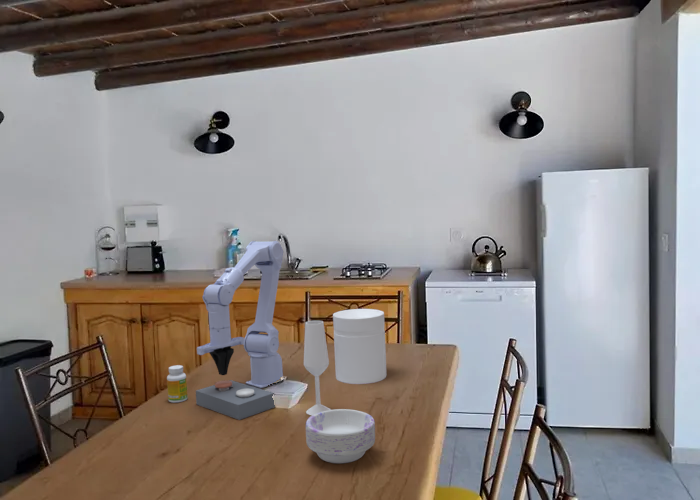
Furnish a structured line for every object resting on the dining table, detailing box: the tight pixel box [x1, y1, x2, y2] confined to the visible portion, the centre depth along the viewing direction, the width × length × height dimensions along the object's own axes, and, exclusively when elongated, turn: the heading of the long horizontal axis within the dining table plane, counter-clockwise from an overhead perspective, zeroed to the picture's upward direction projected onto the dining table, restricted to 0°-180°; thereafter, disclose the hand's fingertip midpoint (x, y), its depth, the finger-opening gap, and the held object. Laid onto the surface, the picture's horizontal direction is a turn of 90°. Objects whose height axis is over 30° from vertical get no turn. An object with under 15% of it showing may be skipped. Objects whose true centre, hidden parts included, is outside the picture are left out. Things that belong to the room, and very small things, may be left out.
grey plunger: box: [236, 389, 254, 398], centre depth 167 cm, size 5×5×4 cm
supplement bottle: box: [166, 364, 188, 404], centre depth 178 cm, size 5×5×10 cm
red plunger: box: [214, 379, 233, 391], centre depth 174 cm, size 5×5×4 cm
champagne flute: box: [303, 320, 332, 416], centre depth 163 cm, size 7×7×24 cm
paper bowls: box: [305, 408, 376, 464], centre depth 135 cm, size 15×15×8 cm
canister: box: [332, 308, 387, 385], centre depth 193 cm, size 16×16×20 cm
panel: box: [195, 379, 276, 421], centre depth 171 cm, size 12×20×4 cm, turn 47°
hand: (223, 374), depth 174 cm, fingers closed
